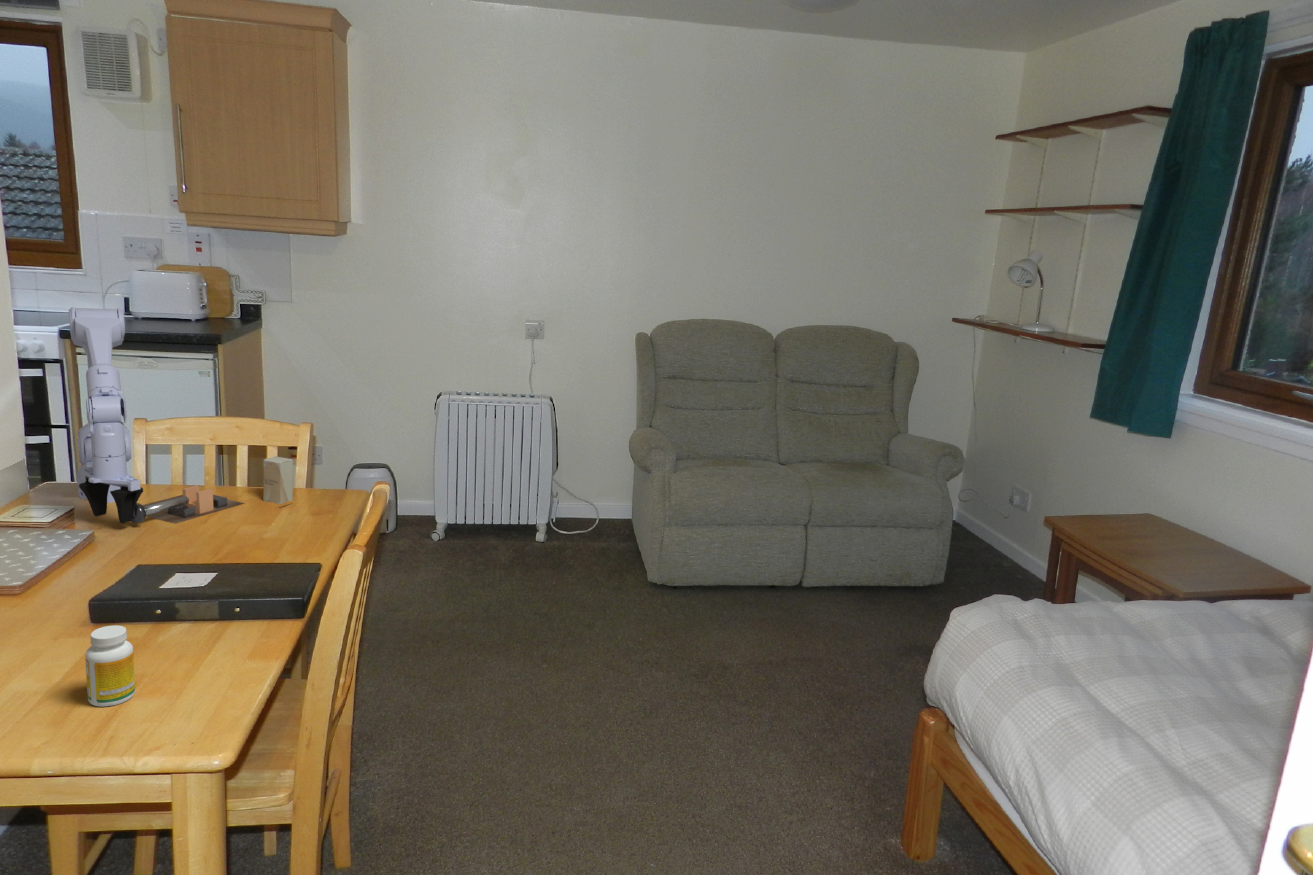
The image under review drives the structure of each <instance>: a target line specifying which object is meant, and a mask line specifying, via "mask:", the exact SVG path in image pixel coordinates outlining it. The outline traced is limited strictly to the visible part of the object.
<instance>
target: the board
mask: <svg viewBox="0 0 1313 875" xmlns="http://www.w3.org/2000/svg"><path fill="white" fill-rule="evenodd" d="M180 497H183V494H181V495H176V496H173V497H168V498H165V499H161V500H157V501H153V502H149V503H145V504H141V505H142V506H143V507H145V506H149V505H153V504H157V503H160V502H164V501H168V500H172V499H176V498H180ZM244 504H246V503H245V502H241V501H237V500H232V499H229V498H227V506H225V507H222V508H214V507H213V510H211V511H208V512H204V513H201V514H199V513H195V515H194V516H190V517H187V518H182V517H178V516H174V515H170V514H168V509H167V510H163V511H160V512H156V513H152V514H149V515H146V518H151V519H154V520H159V521H163V522H165V523H166V522H168V523H171V524H174V525H175V524H179V523H180V524H181V523H183V522H187V521H190V520H192V519H193V520H194V519H197V518H199V517H203V516H207V515H210V514H213V513H217V512H221V511H223V510H227V509H231V508H234V507H239V506H242V505H244Z"/></svg>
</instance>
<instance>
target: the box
mask: <svg viewBox="0 0 1313 875" xmlns="http://www.w3.org/2000/svg"><path fill="white" fill-rule="evenodd" d="M293 475H294V459H292V458H287V457H282V456H272V457H268V458H265V459H263V481H262V483H263V487H262V488H263V489H262V490H263V496H262V497H263V498H262V500H263V502H266V503H271V504H278V505H281V504H285V503H288V502H291V501H294V500H293V496H294V494H293V492H294V491H293V489H294V486H293V483H294V482H293V480H294V479H293V478H294V476H293ZM292 504H293V502H292V503H288V504H285V505H282V506H279V507H278V508H279V509H281V507H282V508H285V507H288V506H290V505H292Z"/></svg>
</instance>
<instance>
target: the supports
mask: <svg viewBox="0 0 1313 875" xmlns="http://www.w3.org/2000/svg"><path fill="white" fill-rule="evenodd" d="M227 499H228V497H226V496H220V495H218V494H217V495H215V494H213V507H214V508H222V507H225V506H227ZM168 514H170V515H174V516H178V517H182V518H187V517H190V516H194V515H195V507H193V506H189V505H182V506H178V507H174V508H171V509H168Z"/></svg>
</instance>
